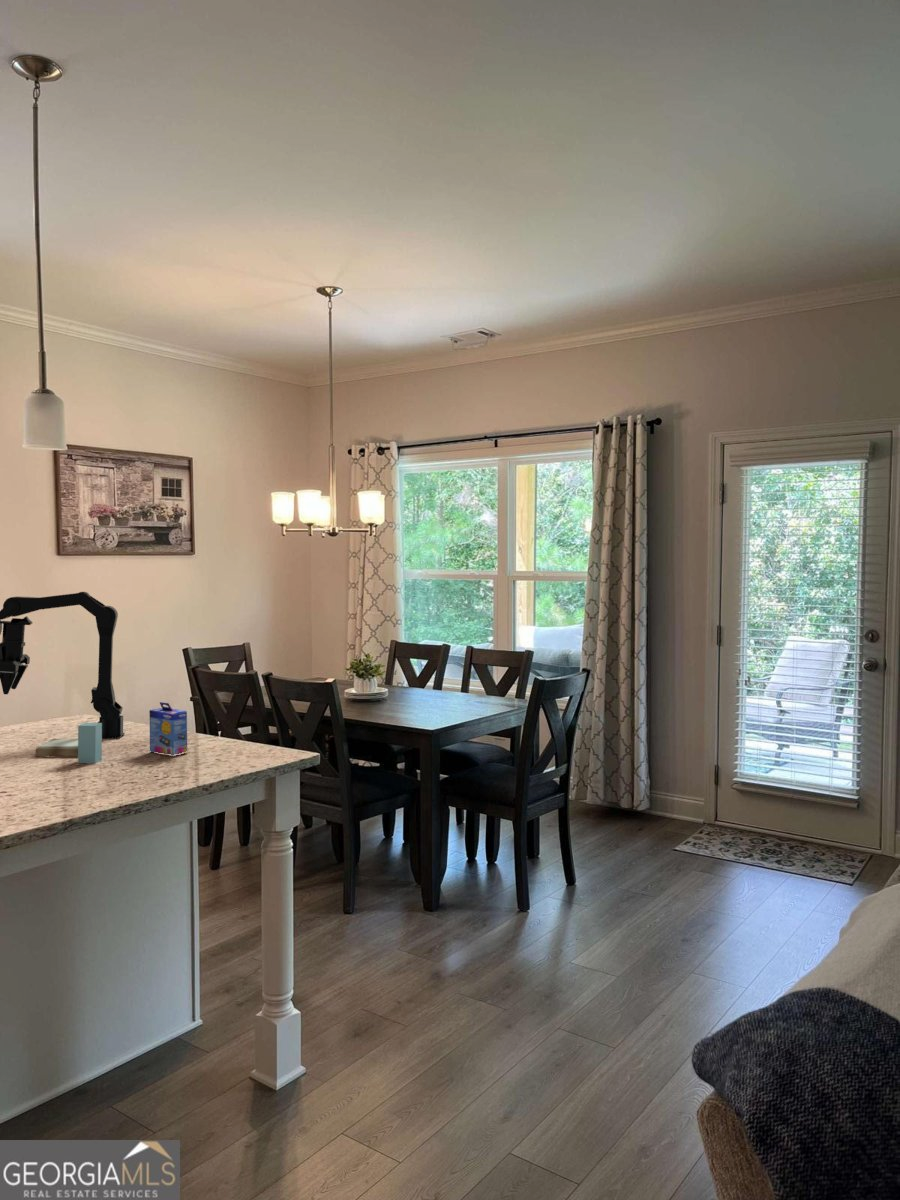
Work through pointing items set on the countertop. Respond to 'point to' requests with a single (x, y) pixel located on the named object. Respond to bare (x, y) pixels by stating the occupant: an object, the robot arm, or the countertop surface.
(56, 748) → the stand
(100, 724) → the block
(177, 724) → the ink cartridge box
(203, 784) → the countertop surface
